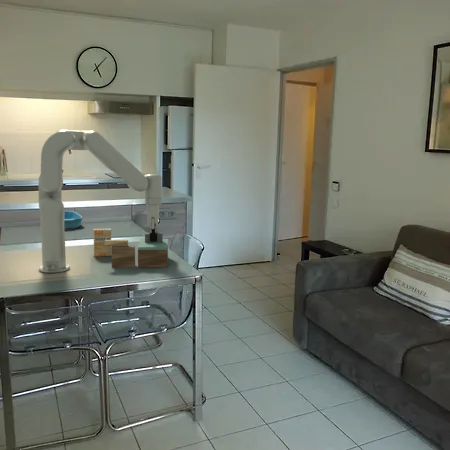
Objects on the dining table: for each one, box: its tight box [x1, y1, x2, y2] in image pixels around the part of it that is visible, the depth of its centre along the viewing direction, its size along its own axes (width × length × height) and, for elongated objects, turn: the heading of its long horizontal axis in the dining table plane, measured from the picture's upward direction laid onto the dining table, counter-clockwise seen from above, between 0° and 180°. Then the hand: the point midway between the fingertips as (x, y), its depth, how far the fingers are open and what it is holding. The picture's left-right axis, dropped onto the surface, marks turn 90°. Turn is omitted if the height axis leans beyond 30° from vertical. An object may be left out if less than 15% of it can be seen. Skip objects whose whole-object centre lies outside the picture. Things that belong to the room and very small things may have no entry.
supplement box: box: [93, 228, 112, 258], centre depth 236 cm, size 8×5×13 cm, turn 105°
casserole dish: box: [64, 210, 83, 230], centre depth 314 cm, size 37×22×7 cm, turn 29°
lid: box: [137, 232, 169, 251], centre depth 224 cm, size 18×13×5 cm
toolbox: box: [111, 245, 169, 268], centre depth 224 cm, size 18×24×9 cm
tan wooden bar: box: [104, 239, 129, 247], centre depth 215 cm, size 2×10×2 cm, turn 96°
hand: (153, 240), depth 226 cm, fingers closed on lid, 3 cm apart
